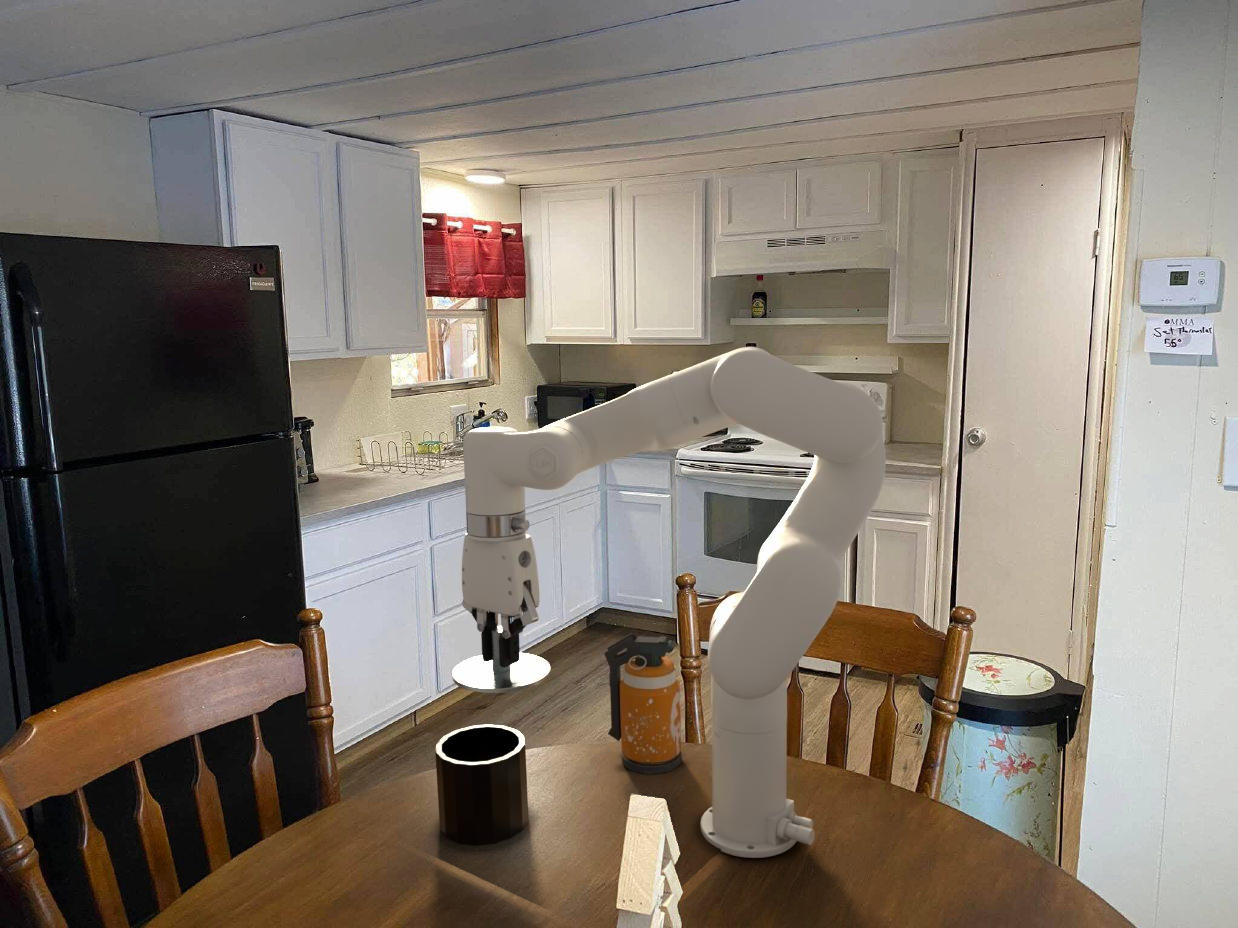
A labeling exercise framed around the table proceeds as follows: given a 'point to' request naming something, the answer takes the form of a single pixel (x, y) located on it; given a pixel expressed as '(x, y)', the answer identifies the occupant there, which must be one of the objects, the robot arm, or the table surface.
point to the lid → (500, 671)
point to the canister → (645, 703)
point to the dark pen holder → (482, 784)
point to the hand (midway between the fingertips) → (501, 660)
